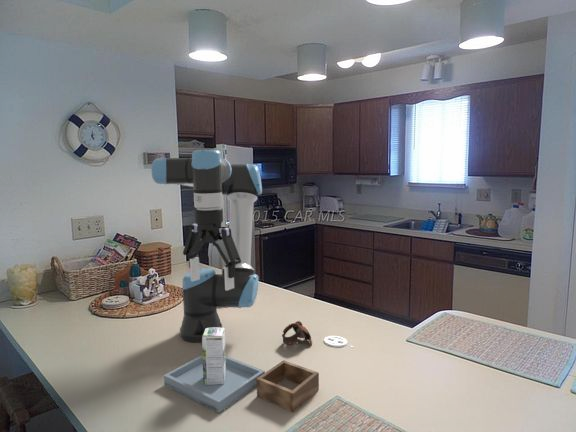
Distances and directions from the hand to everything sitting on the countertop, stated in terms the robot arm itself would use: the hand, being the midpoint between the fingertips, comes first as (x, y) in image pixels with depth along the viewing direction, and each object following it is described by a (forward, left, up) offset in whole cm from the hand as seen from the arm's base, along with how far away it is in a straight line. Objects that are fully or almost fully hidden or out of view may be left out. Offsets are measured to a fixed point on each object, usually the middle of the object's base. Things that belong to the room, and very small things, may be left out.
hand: (212, 284), depth 111 cm
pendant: (+17, +41, -29) cm, 53 cm away
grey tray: (0, -1, -29) cm, 29 cm away
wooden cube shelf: (+20, +7, -29) cm, 36 cm away
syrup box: (0, -1, -28) cm, 28 cm away
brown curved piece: (+5, +33, -29) cm, 45 cm away
